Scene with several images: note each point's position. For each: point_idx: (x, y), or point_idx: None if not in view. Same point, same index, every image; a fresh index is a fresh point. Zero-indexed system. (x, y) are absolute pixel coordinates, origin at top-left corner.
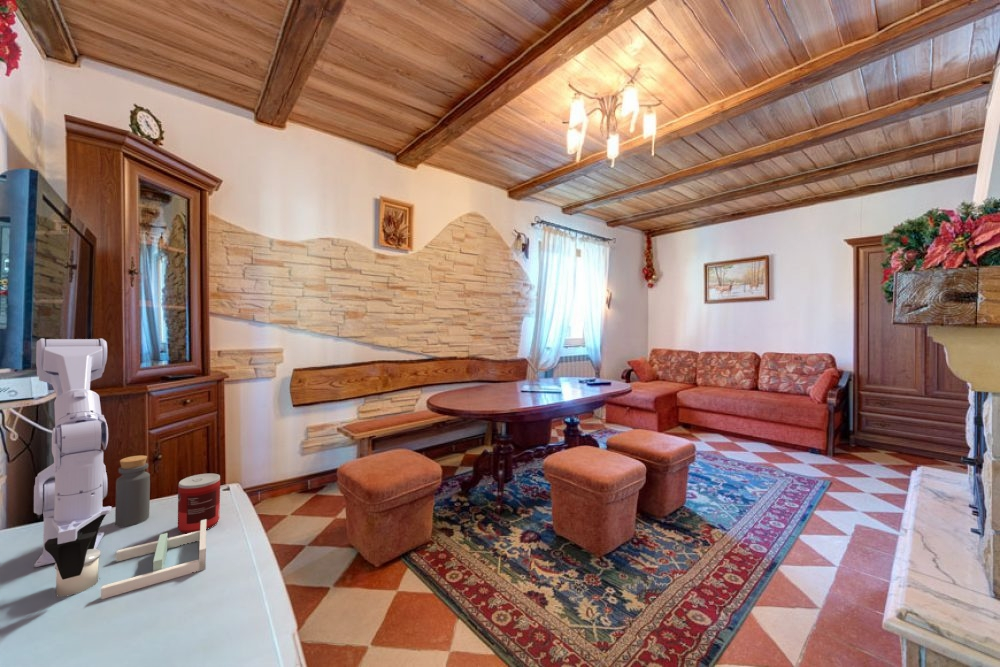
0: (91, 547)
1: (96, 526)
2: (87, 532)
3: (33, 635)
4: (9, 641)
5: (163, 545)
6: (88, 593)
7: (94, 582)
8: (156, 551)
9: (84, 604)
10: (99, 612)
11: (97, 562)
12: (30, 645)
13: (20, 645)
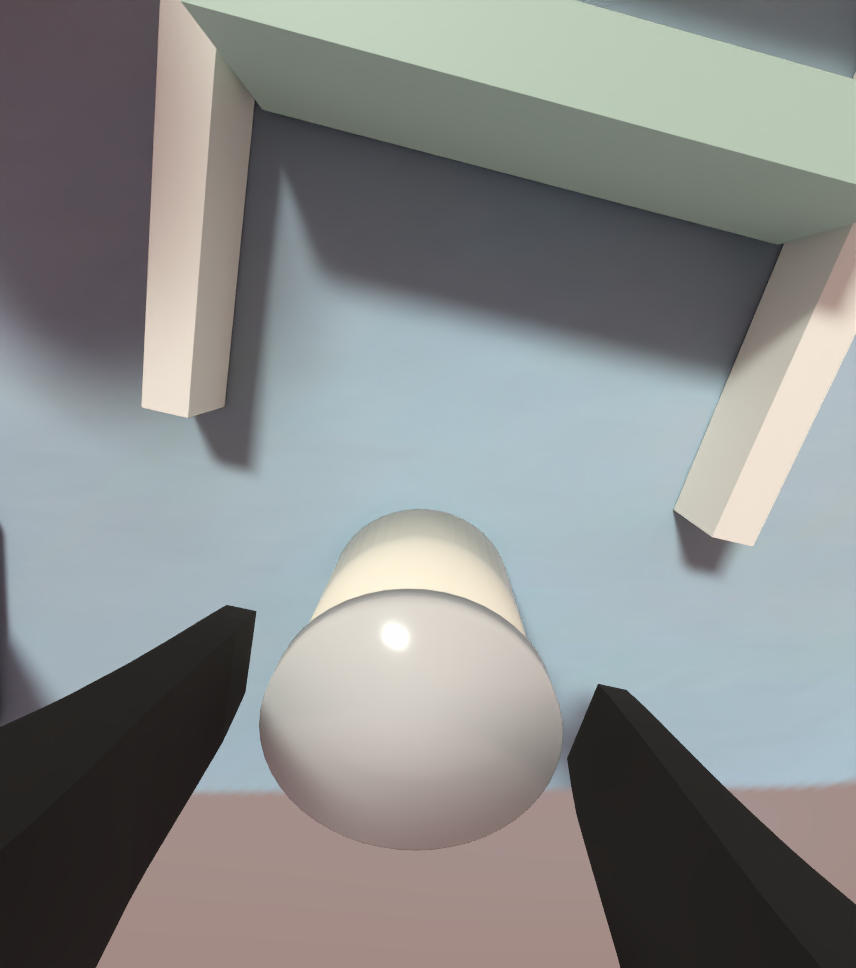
0: (231, 651)
1: (33, 848)
2: (100, 853)
3: (771, 731)
4: (728, 785)
5: (587, 23)
6: (562, 557)
7: (479, 535)
8: (688, 129)
9: (679, 578)
10: (853, 533)
11: (461, 582)
12: (849, 739)
13: (807, 761)
